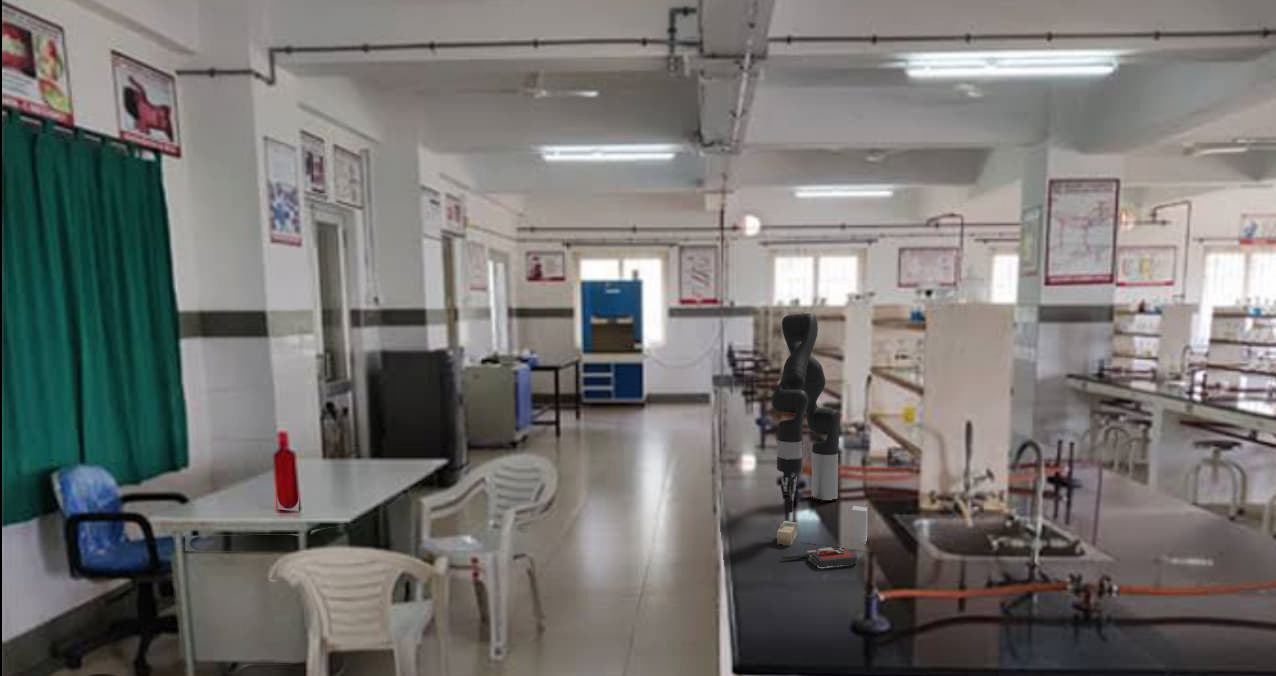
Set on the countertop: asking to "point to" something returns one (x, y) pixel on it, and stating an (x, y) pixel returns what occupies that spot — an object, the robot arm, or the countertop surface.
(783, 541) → the beech block
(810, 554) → the walkie-talkie
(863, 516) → the grey block
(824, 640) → the countertop surface
